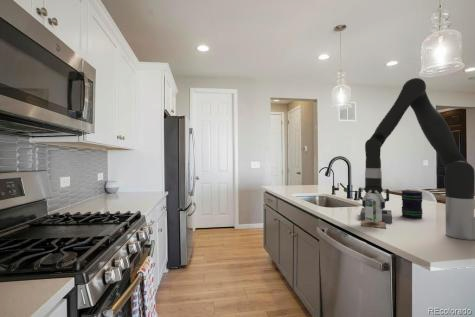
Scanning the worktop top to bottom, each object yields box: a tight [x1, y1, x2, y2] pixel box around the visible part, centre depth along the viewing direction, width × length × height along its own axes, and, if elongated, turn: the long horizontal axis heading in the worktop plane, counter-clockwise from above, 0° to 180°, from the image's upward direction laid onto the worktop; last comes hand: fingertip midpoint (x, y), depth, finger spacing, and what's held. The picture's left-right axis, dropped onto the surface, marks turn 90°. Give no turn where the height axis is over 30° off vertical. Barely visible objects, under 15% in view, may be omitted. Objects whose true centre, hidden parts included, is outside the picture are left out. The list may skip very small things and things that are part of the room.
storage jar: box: [401, 189, 423, 220], centre depth 140 cm, size 10×10×15 cm
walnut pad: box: [360, 220, 387, 230], centre depth 125 cm, size 11×11×1 cm
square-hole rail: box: [359, 207, 393, 224], centre depth 137 cm, size 15×15×4 cm
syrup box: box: [364, 192, 383, 222], centre depth 125 cm, size 6×6×14 cm
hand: (373, 208), depth 125 cm, fingers closed on syrup box, 7 cm apart
